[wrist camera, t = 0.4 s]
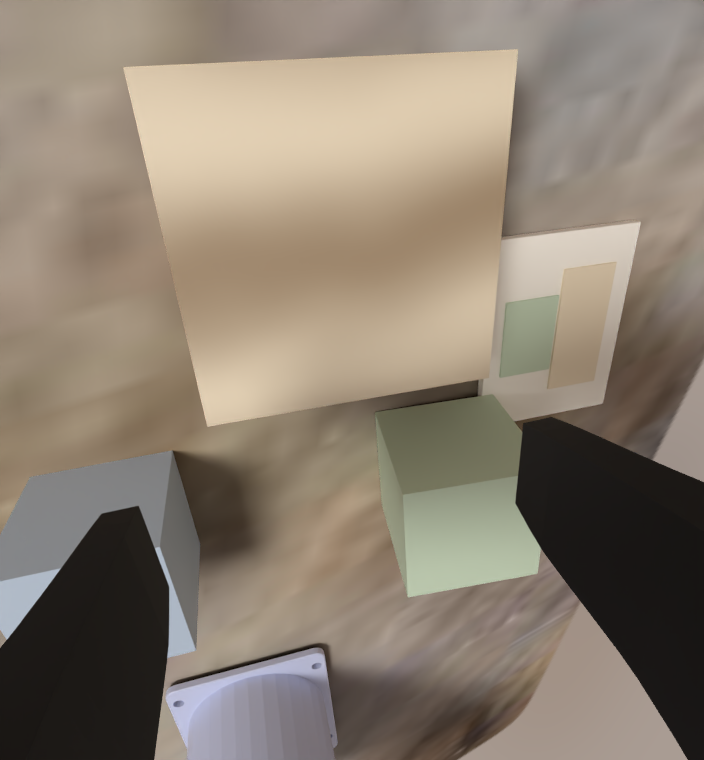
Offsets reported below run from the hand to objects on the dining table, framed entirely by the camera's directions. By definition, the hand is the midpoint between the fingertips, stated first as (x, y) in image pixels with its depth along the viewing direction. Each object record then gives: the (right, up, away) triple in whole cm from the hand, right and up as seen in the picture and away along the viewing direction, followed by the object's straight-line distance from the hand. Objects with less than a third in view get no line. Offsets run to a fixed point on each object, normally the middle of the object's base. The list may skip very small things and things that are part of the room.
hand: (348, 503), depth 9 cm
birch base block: (-1, +7, +7) cm, 11 cm away
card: (+8, +4, +11) cm, 14 cm away
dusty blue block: (-9, -3, +10) cm, 14 cm away
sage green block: (+4, -1, +12) cm, 13 cm away
